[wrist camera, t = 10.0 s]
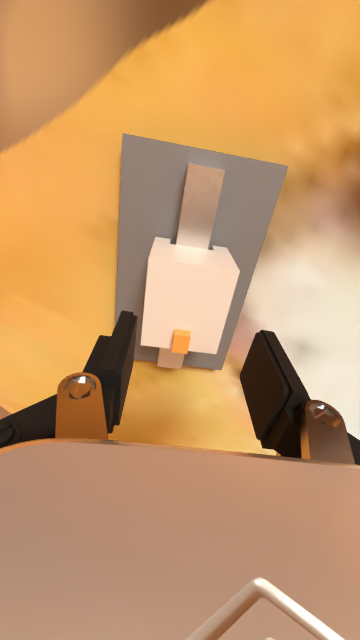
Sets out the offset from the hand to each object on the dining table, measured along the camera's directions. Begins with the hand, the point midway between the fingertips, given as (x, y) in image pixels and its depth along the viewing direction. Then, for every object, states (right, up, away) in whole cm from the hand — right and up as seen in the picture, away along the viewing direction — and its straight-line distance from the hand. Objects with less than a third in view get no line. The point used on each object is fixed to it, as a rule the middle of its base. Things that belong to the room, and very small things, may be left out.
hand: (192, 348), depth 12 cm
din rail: (0, +5, +11) cm, 12 cm away
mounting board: (0, +6, +12) cm, 14 cm away
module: (0, +5, +11) cm, 12 cm away
